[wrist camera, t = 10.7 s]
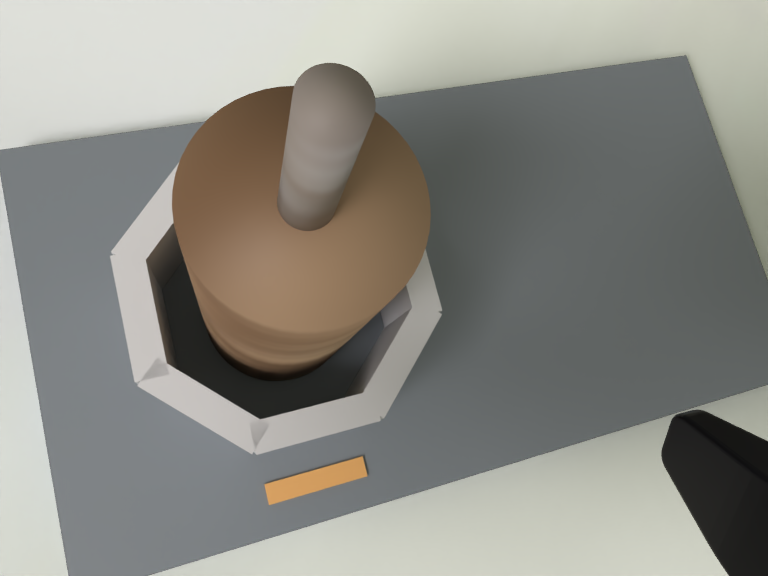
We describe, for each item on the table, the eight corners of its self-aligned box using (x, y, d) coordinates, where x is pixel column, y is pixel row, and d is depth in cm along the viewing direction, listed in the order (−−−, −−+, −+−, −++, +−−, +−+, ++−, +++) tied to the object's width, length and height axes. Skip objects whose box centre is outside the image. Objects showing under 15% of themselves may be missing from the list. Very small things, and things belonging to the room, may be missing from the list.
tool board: (670, 68, 27) (752, -1, 22) (779, 376, 25) (893, 364, 20) (7, 163, 20) (-55, 91, 16) (81, 590, 18) (32, 638, 14)
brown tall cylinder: (373, 291, 21) (563, 74, 9) (298, 409, 20) (395, 355, 7) (257, 215, 21) (281, -121, 8) (174, 329, 19) (52, 133, 7)
